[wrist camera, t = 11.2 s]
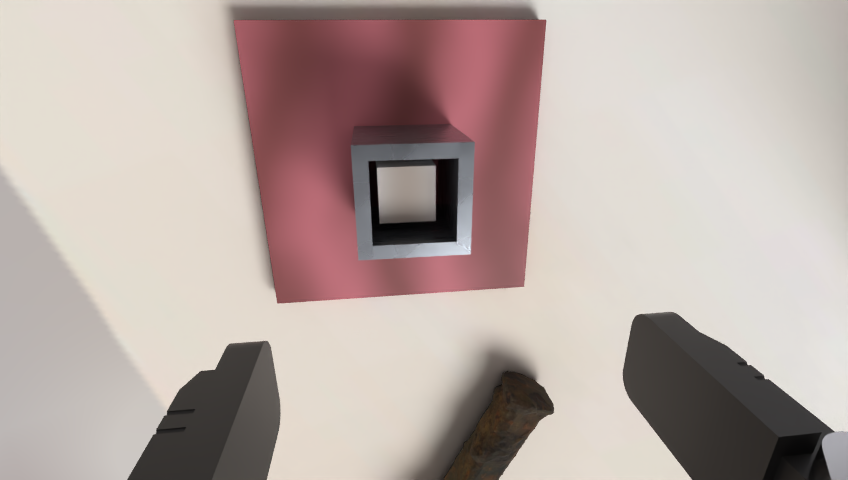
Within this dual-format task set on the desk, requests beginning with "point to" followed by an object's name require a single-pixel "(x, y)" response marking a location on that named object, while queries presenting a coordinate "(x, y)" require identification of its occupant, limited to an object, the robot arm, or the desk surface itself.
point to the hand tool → (502, 429)
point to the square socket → (453, 191)
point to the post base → (388, 93)
